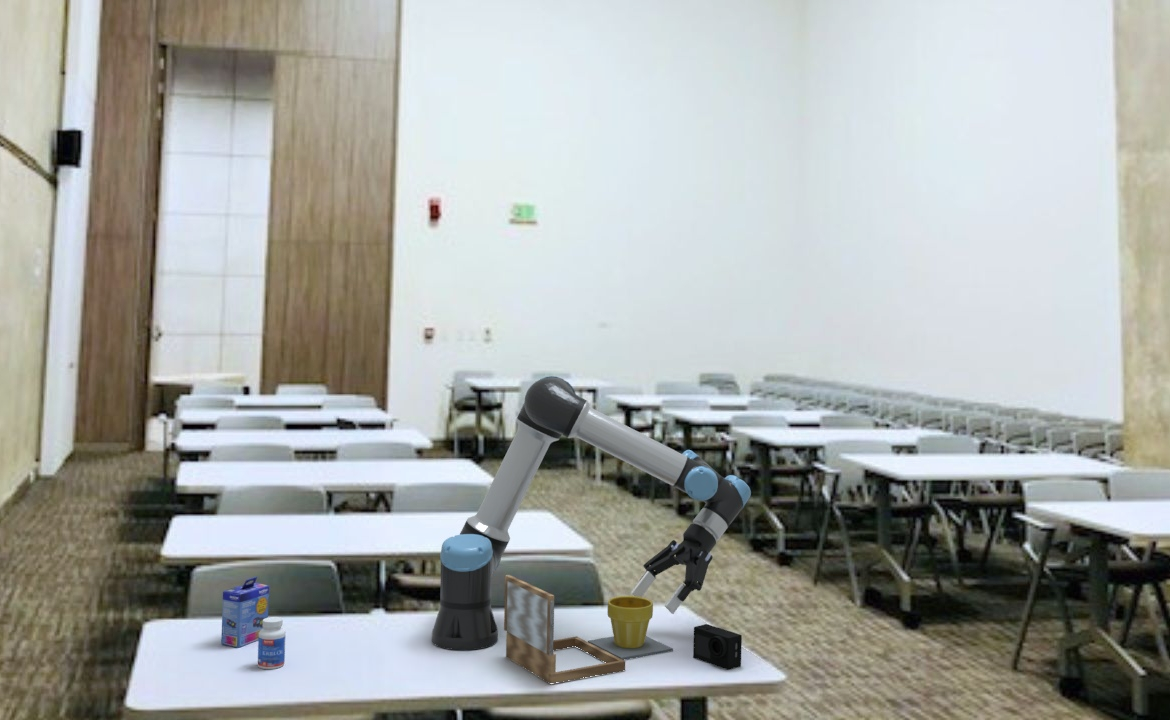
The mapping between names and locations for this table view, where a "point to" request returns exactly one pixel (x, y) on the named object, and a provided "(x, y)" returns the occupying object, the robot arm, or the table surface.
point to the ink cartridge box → (244, 613)
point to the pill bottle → (271, 644)
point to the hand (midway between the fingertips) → (651, 603)
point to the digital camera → (717, 646)
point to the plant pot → (630, 620)
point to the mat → (626, 653)
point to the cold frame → (544, 635)
